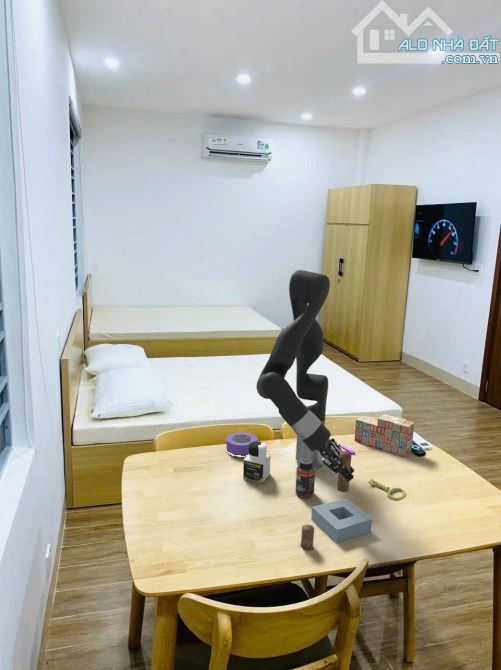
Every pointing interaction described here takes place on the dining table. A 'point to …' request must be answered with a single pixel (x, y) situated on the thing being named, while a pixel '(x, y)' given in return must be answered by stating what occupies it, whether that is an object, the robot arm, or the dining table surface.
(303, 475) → the supplement bottle
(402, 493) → the key
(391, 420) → the stack of blocks
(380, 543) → the dining table surface
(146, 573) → the dining table surface
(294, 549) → the dining table surface
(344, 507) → the collar block
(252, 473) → the medicine bottle
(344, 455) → the walnut pin tall
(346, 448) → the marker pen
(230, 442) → the tape roll
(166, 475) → the dining table surface
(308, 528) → the walnut pin short
